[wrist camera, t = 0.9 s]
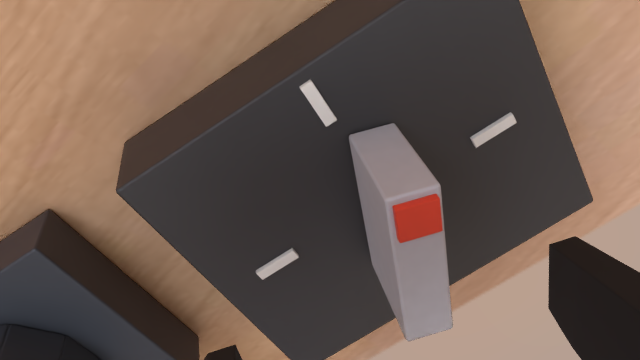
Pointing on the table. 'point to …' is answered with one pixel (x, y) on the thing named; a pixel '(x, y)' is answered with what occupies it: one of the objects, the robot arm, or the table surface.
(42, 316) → the switch block
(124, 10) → the table surface
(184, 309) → the table surface
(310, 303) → the panel
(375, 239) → the knob
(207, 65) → the table surface
